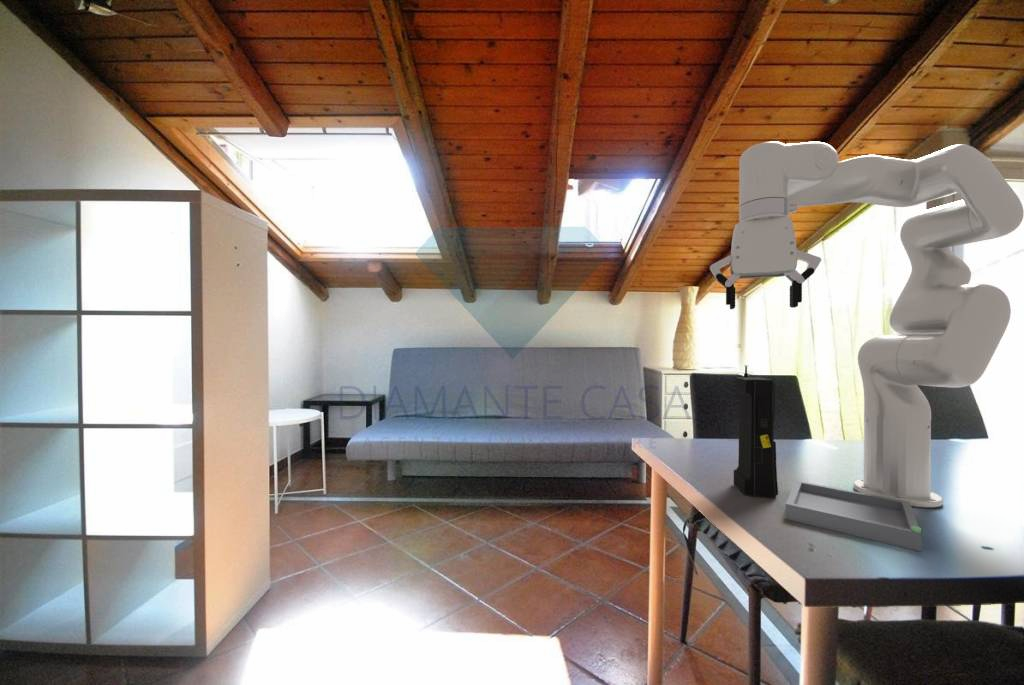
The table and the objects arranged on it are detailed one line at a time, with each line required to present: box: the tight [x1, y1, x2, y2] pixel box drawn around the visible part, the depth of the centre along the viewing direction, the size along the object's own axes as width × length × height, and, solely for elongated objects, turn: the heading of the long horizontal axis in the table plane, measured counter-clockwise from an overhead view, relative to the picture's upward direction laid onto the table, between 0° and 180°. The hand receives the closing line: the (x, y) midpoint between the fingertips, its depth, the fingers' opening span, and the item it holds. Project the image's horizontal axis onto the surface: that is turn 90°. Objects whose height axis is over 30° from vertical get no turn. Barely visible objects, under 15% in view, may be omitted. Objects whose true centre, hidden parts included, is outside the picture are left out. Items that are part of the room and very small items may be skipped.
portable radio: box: [733, 365, 779, 499], centre depth 79 cm, size 8×6×25 cm
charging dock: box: [785, 480, 922, 552], centre depth 68 cm, size 16×16×3 cm
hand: (762, 307), depth 73 cm, fingers open, 9 cm apart
